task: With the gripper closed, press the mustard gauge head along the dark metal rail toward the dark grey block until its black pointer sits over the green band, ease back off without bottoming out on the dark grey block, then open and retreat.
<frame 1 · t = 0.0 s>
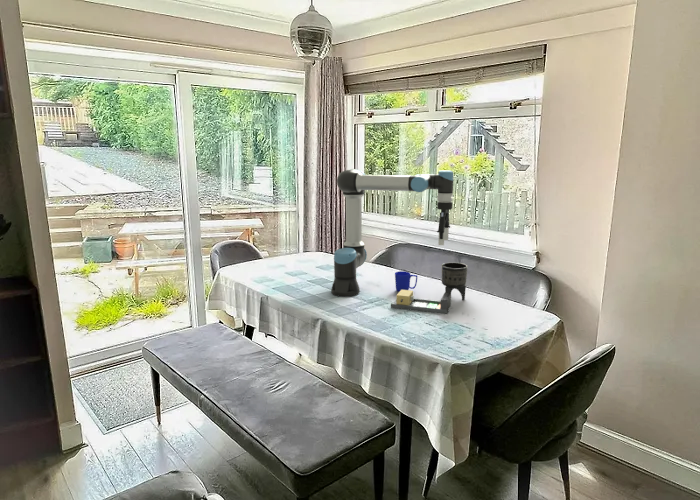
hand: (443, 242, 244), 28 cm above the table, fingers open, 13 cm apart
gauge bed: (420, 307, 231), on the table
mug: (405, 291, 257), on the table
planter: (453, 299, 243), on the table
dark grey block: (445, 309, 227), resting on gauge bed
gauge head: (405, 298, 231), point 4 cm above the table, slide at 0.0 cm
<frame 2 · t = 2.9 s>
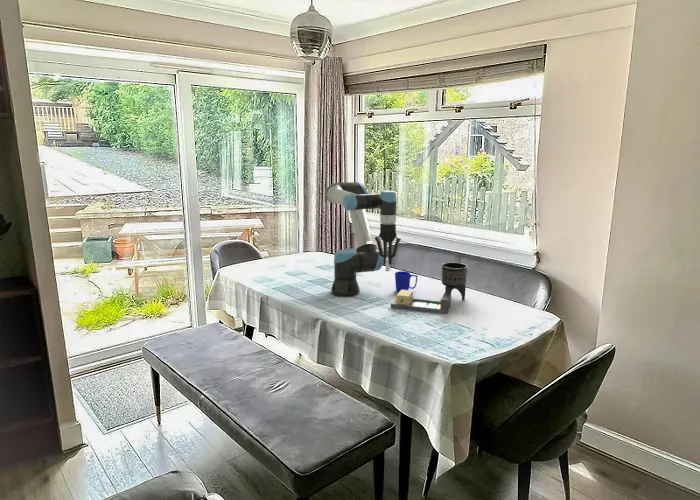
hand: (387, 270, 233), 17 cm above the table, fingers closed
nothing on the table moved.
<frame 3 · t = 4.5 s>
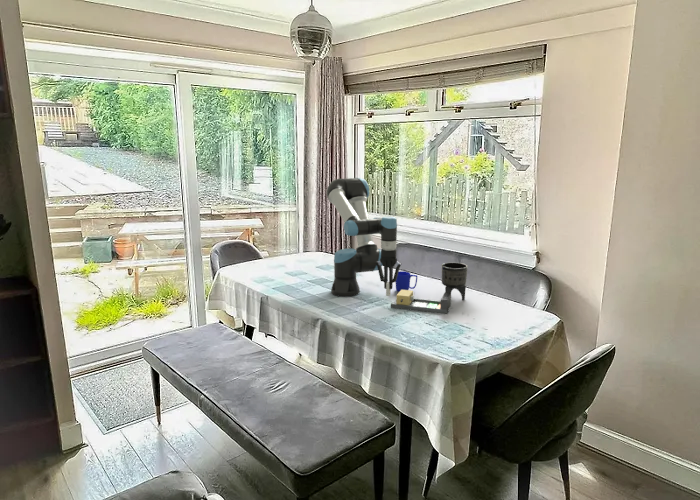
hand: (388, 295, 236), 4 cm above the table, fingers closed
nothing on the table moved.
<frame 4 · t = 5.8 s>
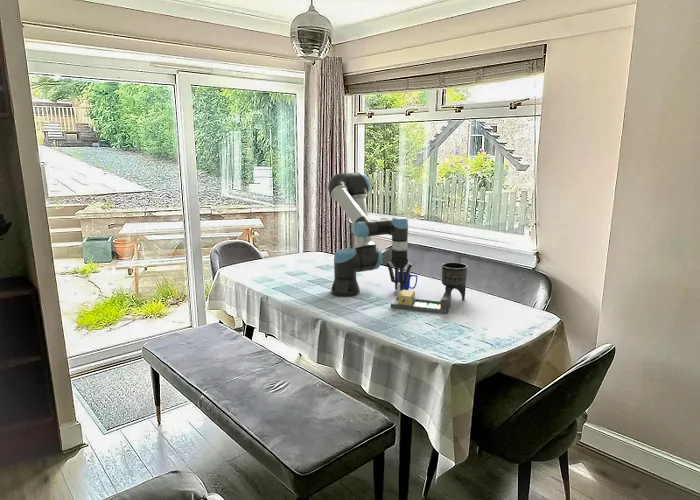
hand: (399, 296, 233), 5 cm above the table, fingers closed
gauge head: (407, 298, 231), point 4 cm above the table, slide at 0.8 cm, touching gripper
everything else where it was.
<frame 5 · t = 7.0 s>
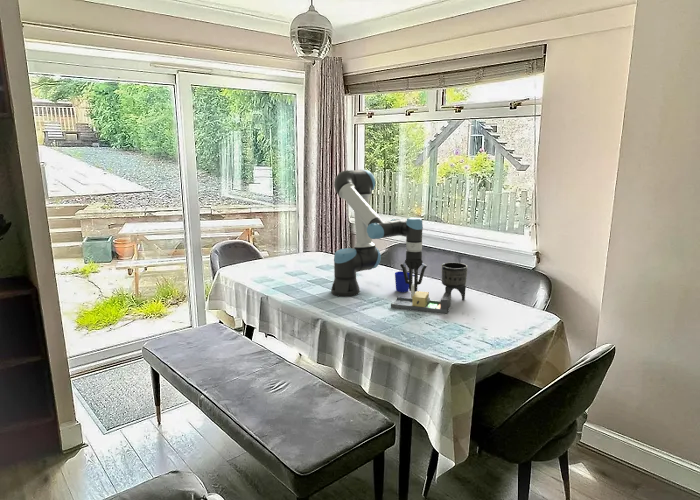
hand: (413, 297, 231), 5 cm above the table, fingers closed
gauge head: (421, 300, 229), point 4 cm above the table, slide at 7.8 cm, touching gripper
everything else where it was.
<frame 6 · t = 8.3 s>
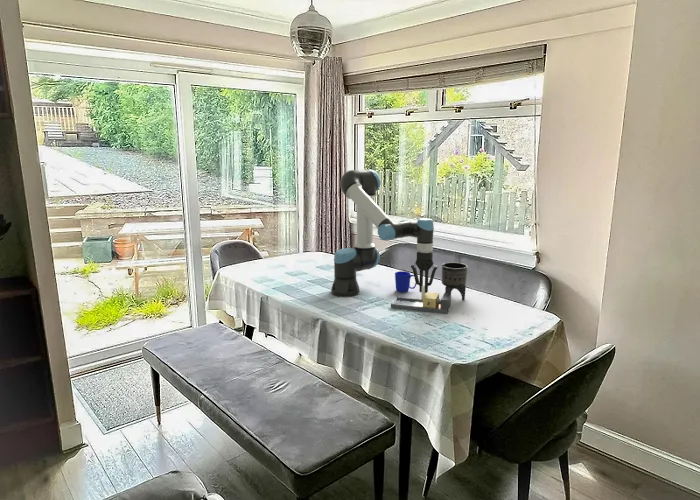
hand: (423, 298, 230), 4 cm above the table, fingers closed
gauge head: (431, 301, 227), point 4 cm above the table, slide at 12.9 cm, touching gripper
everything else where it was.
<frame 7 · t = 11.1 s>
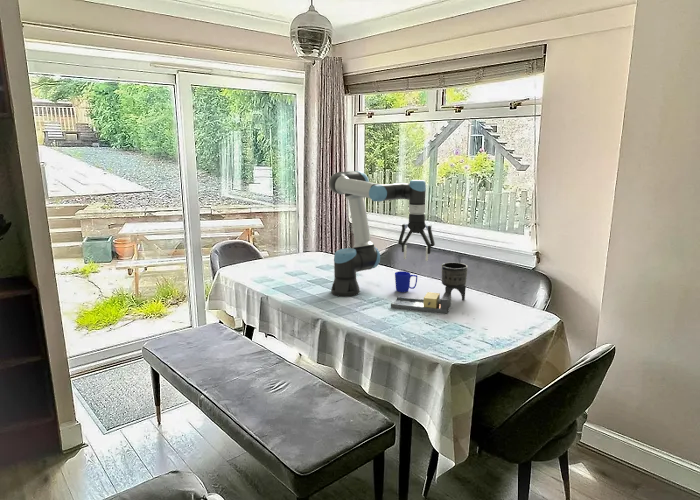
hand: (415, 259, 227), 24 cm above the table, fingers open, 10 cm apart
gauge head: (432, 301, 227), point 4 cm above the table, slide at 13.2 cm
everything else where it was.
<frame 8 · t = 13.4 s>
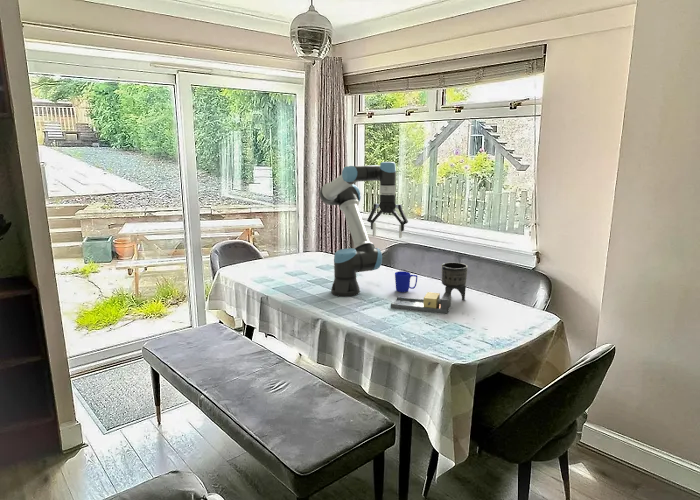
hand: (387, 236, 236), 33 cm above the table, fingers open, 13 cm apart
nothing on the table moved.
at the end: gauge head slide at 13.2 cm; gauge head touching nothing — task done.
